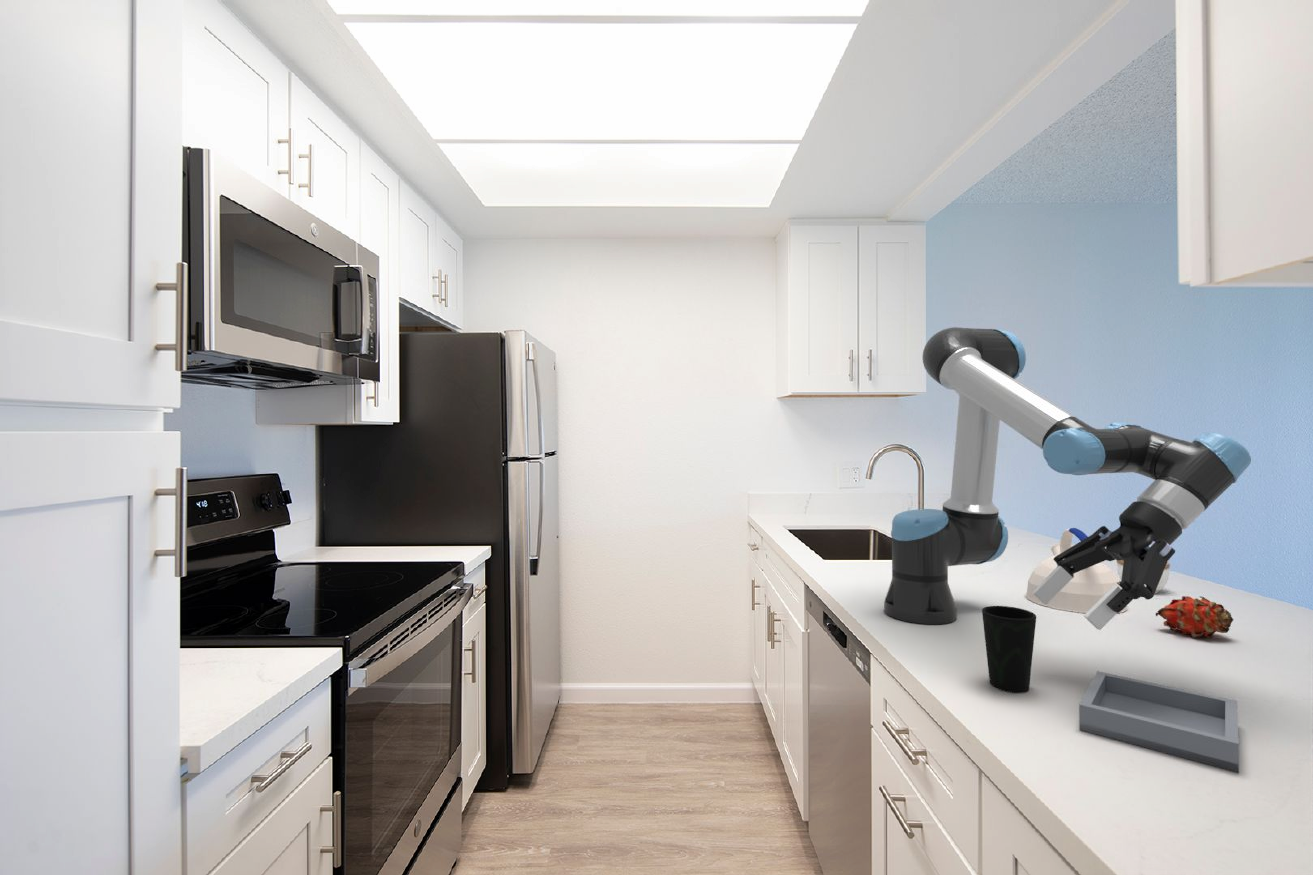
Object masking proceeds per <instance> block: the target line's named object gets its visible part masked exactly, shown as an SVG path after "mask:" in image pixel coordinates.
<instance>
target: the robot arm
mask: <svg viewBox="0 0 1313 875" xmlns="http://www.w3.org/2000/svg"><path fill="white" fill-rule="evenodd" d="M1026 355H1027V354H1026V350H1025V346H1024V344H1023V343H1022V341H1021V340H1020V339H1019V338H1018V336H1016V335H1015V334H1014V333H1012V332H1010V331H1006V330H1001V329H996V328H974V327H972V328H969V327H948V328H944V329H942V330H940V331H938V332H936V333H935V334H933V335H932V336H931V337H930V338H929V339H928V340H927V342H926V344H925V346H924V348H923V351H922V363H923V364H922V365H923V367H924V369H925V371H926V372H927V374H928V376H930V377H931V378H932V379H933V380H934V381H936V382H937V384H939V385H941V386H942V387H944V389H945V388H946V389H947V390H953V391H955V393H957V395H958V409H957V417H956V418H957V420H956V433H955V442H954V443H955V444H954V452H953V454H954V456H953V467H952V468H953V469H952V477H951V480H952V481H951V490H950V497H949V498H948V499H947V500H945V501H944V502H943V503H942V509H935V508H924V509H922V508H921V509H909V510H904V511H902V512H899V513H897V514H895V515H894V517H893V519H892V522H891V531H890V536H891V559H892V560H891V581H890V584H889V587H888V590H887V592H886V596H885V598H884V600H883V601H884V603H883V606H884V607H883V608H884V609H883V610H884V611H883V612H884V614H886V615H888V617H891V618H893V619H896V620H899V621H903V622H908V623H914V624H922V625H942V624H943V625H945V624H950V623H953V622H955V621H956V620H957V618H958V616H957V615H958V612H957V610H958V608H957V605H956V602H955V599H954V597H953V594H952V591H951V589H950V585H949V578H948V577H949V574H948V573H949V570H948V568H949V567H954V566H965V565H982V564H984V563H989V562H993V561H995V560H997V559H999V558H1000V557H1001V556H1002V555H1003V554H1004V552H1005V550H1006V548H1007V547H1008V543H1009V531H1008V527H1007V526H1005V522H1004V520H1003V518H1001V517H1000V516H999V515H1000V512H999V511H1000V509H999V508H998V507H997V506H996V505H995V504H994V502H993V494H994V485H995V477H996V476H995V475H996V474H995V473H996V463H997V454H998V453H997V451H998V444H999V432H1000V422H1003V423H1004V424H1005V425H1007V426H1008V427H1010V428H1011V429H1013V430H1014V431H1015V432H1017V433H1018V434H1020V435H1021V436H1022V437H1024V438H1025V439H1027V440H1029V441H1030V442H1031V443H1032V444H1034V445H1035V446H1037V447H1038V448H1039V449H1041V450H1042V456H1043V458H1044V460H1045V462H1046V463H1047V466H1048V467H1049V468H1050V469H1052V470H1053V471H1055V472H1057V473H1059V474H1065V475H1073V476H1086V475H1098V474H1120V473H1121V474H1122V473H1133V474H1134V473H1135V474H1139V475H1141V476H1144V477H1147V478H1148V479H1152V480H1153V482H1152V483H1151V484H1150V485H1148V487H1147V488H1146V489H1145V490H1144V491H1142V492H1141V493H1140V494H1139V495H1138V496H1137V497H1136V501H1133V502H1132V503H1131V504H1130V505H1128V507H1127V508H1126V509H1125V510H1124V511H1122V512H1121V513H1120V515H1119V516H1118V520H1119V527H1118V528H1116V529H1115V530H1113V531H1111V529H1109V528H1108V527H1107V526H1105V525H1102V526H1100V527H1099V528H1098V529H1096V530H1095V531H1094V532H1093V533H1092V534H1090V535H1089V536H1088V537H1087V538H1086V539H1084V540H1082V541H1079V542H1078V543H1075V544H1074V545H1071V548H1069V549H1067V550H1066V551H1064V552H1062V553H1061V554H1059V555H1057V556H1056V557H1054V559H1053V560H1054V561H1055V562H1056V563H1057V565H1058V566H1057V568H1056V569H1055V570H1054V571H1053V572H1052V573H1051V574H1050V575H1049V576H1048V577H1047V578H1046V579H1045V580H1044V581H1043V582H1042V583H1041V584H1040V585H1039V586H1038V587H1037V588H1036V589H1035V590H1034V591H1033V592H1032V593H1033V594H1034V595H1035V596H1036V597H1037V598H1038V599H1039V600H1040V601H1041V602H1042V603H1043V604H1045V605H1046V604H1047V603H1048V602H1049V601H1050V600H1051V599H1052V598H1053V597H1054V596H1055V595H1056V594H1057V593H1058V592H1059V591H1060V590H1061V589H1062V588H1063V587H1064V586H1065V585H1066V584H1067V583H1068V582H1069V581H1070V580H1071V579H1073V578H1074V573H1076V572H1079V571H1081V570H1084V569H1086V568H1088V567H1091V566H1093V565H1096V564H1098V563H1100V562H1101V563H1103V562H1105V561H1108V562H1113V561H1117V560H1122V561H1124V563H1123V571H1122V579H1121V580H1120V582H1119V583H1120V584H1119V583H1118V582H1117V584H1118V585H1119V586H1120V587H1121V588H1122V589H1120V588H1119V587H1118V586H1115V585H1114V586H1113V587H1112V588H1111V589H1110V590H1109V591H1108V592H1107V593H1106V594H1105V595H1104V596H1103V597H1102V598H1101V599H1100V600H1099V601H1098V602H1097V603H1096V604H1095V605H1094V606H1093V607H1092V608H1091V609H1090V610H1089V611H1088V612H1087V613H1084V614H1083V617H1084V619H1086V620H1087V621H1088V622H1089V623H1090V624H1091V625H1092V626H1093V627H1094V628H1095V629H1096V630H1099V631H1101V630H1102V629H1103V628H1104V627H1105V626H1107V624H1108V623H1109V622H1110V621H1112V619H1113V618H1114V617H1115V616H1116V615H1117V614H1120V613H1119V612H1120V611H1122V610H1123V609H1124V608H1125V607H1126V606H1127V607H1128V605H1129V604H1130V603H1131V602H1132V601H1133V600H1139V599H1140V598H1144V599H1145V600H1151V599H1153V598H1154V596H1155V594H1156V593H1155V591H1156V589H1157V586H1158V584H1159V581H1160V579H1161V576H1162V574H1163V571H1164V569H1165V566H1166V564H1167V562H1168V561H1169V560H1170V559H1171V558H1172V557H1173V555H1174V554H1175V553H1176V549H1175V548H1174V547H1172V546H1171V545H1172V544H1173V543H1174V542H1175V541H1176V540H1177V539H1178V538H1179V537H1180V536H1181V535H1182V534H1183V530H1186V529H1188V528H1189V526H1190V525H1191V524H1193V523H1194V522H1195V521H1196V519H1197V518H1199V517H1200V515H1202V513H1204V512H1206V510H1207V509H1208V508H1209V507H1210V505H1212V504H1213V503H1214V502H1215V501H1216V500H1217V499H1218V498H1219V497H1220V496H1221V495H1222V494H1223V493H1224V492H1225V491H1226V490H1227V489H1228V488H1230V487H1231V486H1232V485H1233V484H1235V483H1237V482H1238V479H1239V478H1240V476H1242V474H1243V473H1244V472H1245V471H1246V470H1247V469H1248V467H1249V466H1250V465H1251V462H1252V456H1250V452H1249V451H1248V449H1247V448H1246V447H1245V446H1244V445H1243V444H1241V443H1240V442H1239V441H1237V440H1235V439H1234V438H1232V437H1229V436H1227V435H1224V434H1221V433H1218V432H1217V433H1215V432H1213V433H1211V432H1205V433H1202V434H1201V435H1199V436H1198V437H1196V438H1195V439H1194V440H1192V441H1189V440H1188V441H1187V440H1185V439H1179V438H1175V437H1174V436H1168V435H1166V434H1163V433H1161V432H1157V431H1155V430H1154V431H1153V430H1150V429H1147V428H1144V427H1141V425H1138V424H1130V423H1125V422H1122V421H1115V422H1112V423H1110V424H1109V425H1106V426H1104V427H1103V428H1095V427H1093V426H1091V425H1089V424H1088V423H1086V422H1084V421H1083V420H1081V419H1080V418H1077V417H1076V416H1074V415H1073V414H1072V413H1069V412H1068V411H1066V410H1065V409H1063V408H1061V407H1060V406H1058V405H1057V404H1056V403H1054V402H1052V401H1050V400H1049V399H1047V398H1046V397H1044V396H1043V395H1041V394H1039V393H1037V392H1036V391H1034V390H1032V389H1031V388H1030V387H1028V386H1026V385H1024V384H1022V383H1021V382H1020V381H1017V380H1016V379H1017V378H1018V377H1019V376H1020V374H1021V373H1023V371H1024V369H1025V365H1026V359H1027V356H1026ZM1144 584H1146V587H1145V586H1144Z"/></svg>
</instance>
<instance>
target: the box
mask: <svg viewBox="0 0 1313 875" xmlns="http://www.w3.org/2000/svg"><path fill="white" fill-rule="evenodd" d="M1078 708H1079V709H1078V711H1079V712H1078V713H1079V714H1078V716H1079V717H1078V721H1079V722H1078V724H1079V727H1078V728H1079V731H1083V732H1087V733H1090V734H1093V735H1094V734H1095V735H1098V736H1100V737H1101V736H1102V737H1104V738H1109V739H1112V740H1116V741H1120V742H1124V743H1127V744H1132V745H1135V746H1138V747H1143V748H1146V749H1150V750H1153V751H1157V752H1160V753H1165V754H1169V755H1172V756H1175V757H1179V758H1183V759H1187V760H1190V761H1194V762H1196V763H1201V764H1205V765H1209V766H1213V767H1215V768H1220V769H1224V770H1228V771H1231V772H1235V773H1240V771H1239V770H1240V769H1239V768H1240V767H1239V766H1240V760H1239V758H1240V756H1239V755H1240V753H1239V749H1240V748H1239V745H1240V743H1239V717H1238V716H1239V715H1238V713H1239V712H1238V700H1235V699H1231V698H1226V697H1221V696H1217V695H1211V694H1208V693H1207V694H1206V693H1201V692H1198V691H1193V690H1189V689H1188V690H1187V689H1183V688H1179V687H1175V686H1169V685H1165V684H1159V683H1156V682H1151V681H1150V682H1149V681H1145V680H1141V679H1137V678H1132V677H1127V676H1122V675H1117V674H1113V673H1108V672H1103V671H1099V670H1096V673H1095V674H1094V677H1093V678H1092V680H1091V682H1090V684H1089V686H1088V688H1087V689H1086V691H1085V692H1084V695H1083V697H1082V698H1081V701H1080V703H1079V704H1078Z"/></svg>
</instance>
